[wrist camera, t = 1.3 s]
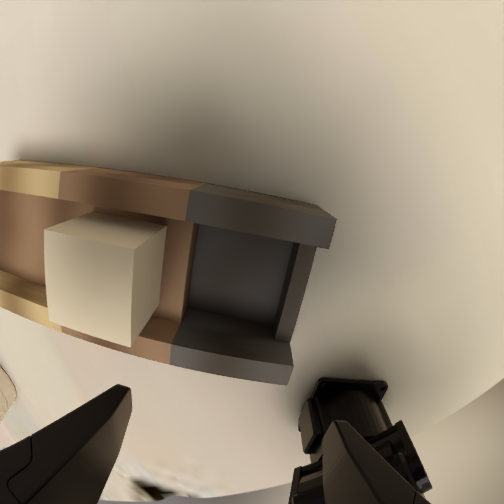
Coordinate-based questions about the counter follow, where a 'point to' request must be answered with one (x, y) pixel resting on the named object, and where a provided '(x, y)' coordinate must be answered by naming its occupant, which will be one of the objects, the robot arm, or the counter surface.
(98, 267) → the cream block
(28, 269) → the channel
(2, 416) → the white cup
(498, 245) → the counter surface
